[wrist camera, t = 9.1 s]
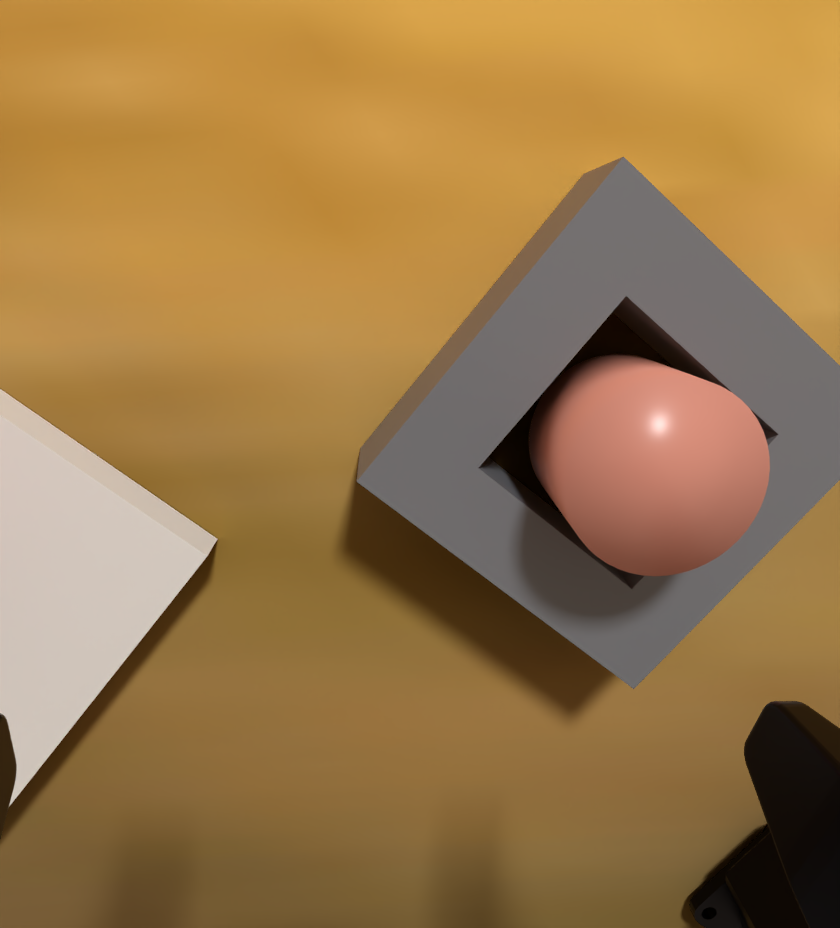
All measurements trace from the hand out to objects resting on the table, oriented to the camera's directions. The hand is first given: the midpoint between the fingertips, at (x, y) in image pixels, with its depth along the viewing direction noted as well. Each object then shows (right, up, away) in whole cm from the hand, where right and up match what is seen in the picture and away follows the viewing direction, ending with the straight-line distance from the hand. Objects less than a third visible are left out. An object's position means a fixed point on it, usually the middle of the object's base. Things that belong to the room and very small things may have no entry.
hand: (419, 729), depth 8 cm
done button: (+5, +4, +9) cm, 11 cm away
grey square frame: (+5, +4, +11) cm, 13 cm away
